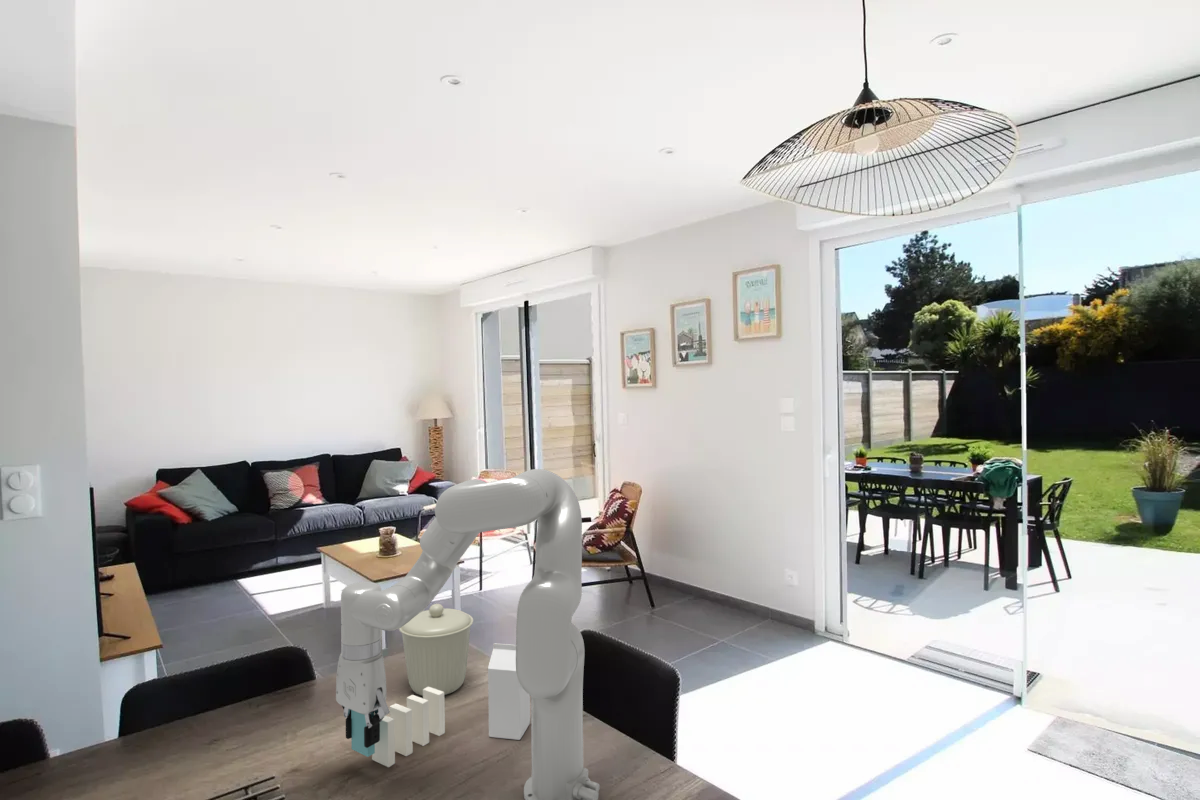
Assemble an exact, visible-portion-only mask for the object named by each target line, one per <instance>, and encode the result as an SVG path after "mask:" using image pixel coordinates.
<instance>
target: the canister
mask: <svg viewBox="0 0 1200 800" xmlns="http://www.w3.org/2000/svg"><path fill="white" fill-rule="evenodd" d="M473 624H474V618H473V616H472V615H470V614H469V613H466V612H464V611H463V610H459V609H455V608H445V607H444V606H443V605H442V604H441V603H433V604H432V605H430V606H429V608H428V609H426V610H425V609H424V610H423V611H422V612H421V613H419V614H418V615H417V616H415V617H414V618H413V619H411V620H410V621H409V622H408V623H406V624H405V625H404V626H403V627H401V628H399V629H398V630H399V633H401V636H402V644H403V646H402V647H403V652H404V660H405V666H406V674H407V679H408V680H407V681H408V684H409V687H410V688H411V690H412V691H413V692H414V693H415V694H416V695H419V696H422V697H423V689H424V688H426V687H431V688H434V689H437V690H440V691H443V692H444V696H446V695H450V694H452V693H454V692H455V691H457V690H458V689H460V687H461V686H463V683H464V681H465V679H466V674H467V666H468V657H469V646H470V635H471V626H472V625H473Z"/></svg>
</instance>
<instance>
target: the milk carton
mask: <svg viewBox="0 0 1200 800" xmlns="http://www.w3.org/2000/svg"><path fill="white" fill-rule="evenodd" d="M492 648H493V649H492V651H491V656H490V659H489V663H488V667H487V687H488V689H487V692H488V693H487V696H488V697H487V698H488V704H487V705H488V706H487V707H488V737H490V738H497V739H505V740H506V739H507V740H518V741H520V740H521V739H522V737H523V736H524V734H525V732H526V730H527V729H528V727H529V726H530V724H531V696H530V695H529V694H528V693H527V692H526V691H525V690H524V689H523V688H522V686H521V685H520V683H519V680H518V677H517V673H516V644H509V643H495V642H494V643H493V647H492Z"/></svg>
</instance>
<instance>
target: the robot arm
mask: <svg viewBox="0 0 1200 800" xmlns="http://www.w3.org/2000/svg"><path fill="white" fill-rule="evenodd" d="M434 515H435V517H434V518H433V519H432V521H431V523H429V525H428V527H427V528H426V529H425V530H424V532H423V533H422V535H421V537H420V538H419V545H420V548H421V550H422V552H421V553H420V556H419V557H418V559H417V560H416V562H415V563H414V564H413V566H412V567H411V568H410V570H409V571H408V572H407V574H405V576H404V577H403V578H402V579H401V580H399V581H398V582H396V583H394V584H393V585H392V586H390V587H388V588H384V589H382V588H381V586H380V585H379V584H378V583H377V582H371V581H359V582H355V583H351V584H349V585H347V586H345V587H344V588H343V589H342V591H341V594H340V629H341V630H340V633H341V634H340V635H341V636H340V637H341V638H340V639H341V641H340V644H341V646H340V647H341V649H340V650H341V652H340V654H339V657H338V661H337V662H338V663H337V667H336V669H337V670H336V679H335V681H336V684H335V685H336V686H335V701H336V702H337V703H338V705H340V706H341V707H342V709H343V717H344V718H345V739H347V740H349V739H351V738H352V719H351V710H353V711H356V712H358V713H360V714H363V715H365V720H366V725H367V726H366V727H364V746H365V747H366V748H368V747H370V746H372V745H374V744H375V743H377V742H379V740H380V722H381V721H382V719H383V718H384V717H385V716H388V715H390V707H389V706H388V703H387V675H386V667H385V662H384V661H385V660H384V656H383V631H386V632H393V631H397V630H399V628H401V627H403V626H404V625H405V624H406V623H408V622H409V621H410V620H411V619H413V618H414V617H415V616H417V615H418V614H419V613H421V612H422V611H425V609H427V608H428V607H429V605H431V603H432V602H433V600H434V599H435V598H436V596H437V595H438V594H439V592H440V591H441V590H442V589H443V587H444V586H445V584H446V583H447V581H448V580H449V578H450V577H451V575H452V573H453V572H454V570H455V569H456V567H457V565H458V563H459V561H460V560H461V559H462V557H463V556H464V555H465V553H466V552H467V550H468V549H469V548H470V546H471V545H472V544H473V542H474V541H475V540H476V538H477V537H478V536H479V535H480V533H483V532H491V531H498V530H505V529H507V530H508V529H512V528H518V527H523V526H526V525H529V524H531V523H534V522H536V520H537V530H536V531H537V532H536V537H535V561H534V562H535V564H534V572H533V573H534V575H533V577H532V579H531V580H530V581H529V583H528V584H527V585H526V586H525V588H524V589H523V590H522V592H521V593H520V597H519V600H518V604H517V608H516V623H515V624H516V627H515V628H516V631H515V633H516V634H515V637H516V638H515V645H516V673H517V677H518V680H519V683H520V685H521V686H522V688H523V689H524V690H525V691H526V692H527V693H528V694H529V695H530V724H531V725H530V726H531V727H530V729H531V730H530V731H531V735H530V736H531V741H530V743H531V776H529V778H528V779H527V780H526V781H525V783H524V786H523V797H524V800H599V796H600V795H599V792H600V791H599V790H600V788H601V785H600V783H598V782H595V781H592V780H591V779H590V778H589V768H587V767H584V727H583V726H584V725H583V724H584V721H583V718H584V717H583V716H584V715H583V713H584V711H583V710H584V705H583V704H584V703H583V702H584V700H583V699H584V698H583V695H584V694H583V693H584V690H583V689H584V670H585V669H584V666H585V655H586V654H585V652H586V650H585V643H584V639H583V635H582V633H581V631H580V629H579V628H578V627H577V626H576V624H574V623H573V622H572V619H573V618H572V617H573V616H574V614H575V613H576V611H577V609H578V607H579V605H580V603H581V601H582V595H583V594H582V593H583V589H582V586H583V585H582V584H583V583H582V582H583V581H582V574H583V573H582V566H583V565H582V563H583V558H582V557H583V552H582V551H583V550H582V549H583V548H582V543H583V541H582V540H583V539H582V537H583V520H582V518H583V517H582V511H581V506H580V501H579V500H578V497H577V495H576V493H575V491H574V489H573V488H572V487H571V485H570V484H569V483H568V482H567V481H566V480H565V479H563V477H561V476H559V475H558V474H556V473H554V472H552V471H550V470H547V469H540V468H534V469H529V470H526V471H524V472H522V473H519V474H517V475H515V476H513V477H510V478H505V479H499V480H494V481H489V482H487V481H484V480H482V479H468V480H465V481H462V482H460V483H457V484H455V485H452V486H450V487H447V488H446V489H445V490H444V491H443V492H442V493H441V494H440V495H439V497H438V498H437V501H436V505H435V507H434ZM373 711H374V714H375V715H374V716H373V717H372V718H371V712H373Z"/></svg>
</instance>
